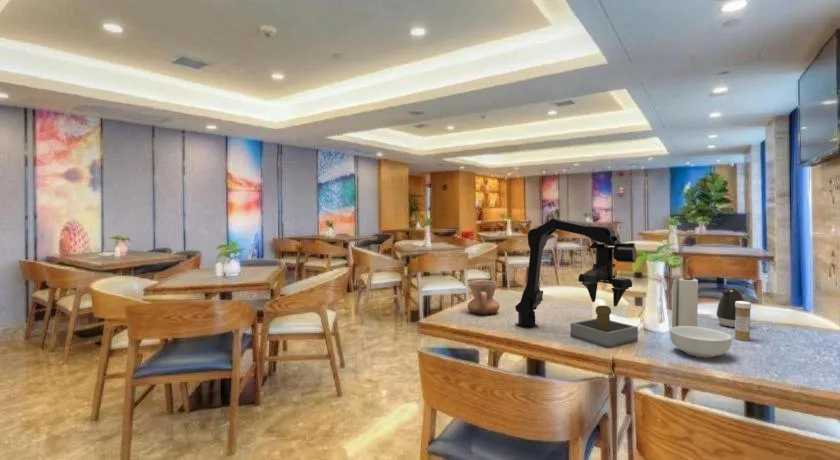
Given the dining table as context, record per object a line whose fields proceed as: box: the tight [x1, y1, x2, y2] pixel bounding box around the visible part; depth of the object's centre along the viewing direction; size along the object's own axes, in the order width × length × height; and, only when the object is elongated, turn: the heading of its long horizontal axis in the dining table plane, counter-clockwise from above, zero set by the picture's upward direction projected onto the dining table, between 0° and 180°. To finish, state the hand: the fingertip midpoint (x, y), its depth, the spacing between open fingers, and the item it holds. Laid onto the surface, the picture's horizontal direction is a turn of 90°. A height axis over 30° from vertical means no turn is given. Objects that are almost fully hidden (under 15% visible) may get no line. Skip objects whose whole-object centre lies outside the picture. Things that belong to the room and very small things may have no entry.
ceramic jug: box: [467, 279, 500, 315], centre depth 203 cm, size 18×14×14 cm
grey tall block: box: [671, 277, 699, 328], centre depth 161 cm, size 7×6×21 cm
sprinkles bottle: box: [734, 301, 752, 342], centre depth 158 cm, size 5×5×13 cm
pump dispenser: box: [716, 287, 745, 328], centre depth 176 cm, size 10×10×15 cm
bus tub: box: [570, 317, 639, 349], centre depth 161 cm, size 16×16×5 cm
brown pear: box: [595, 304, 612, 332], centre depth 161 cm, size 6×6×11 cm
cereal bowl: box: [669, 326, 732, 359], centre depth 143 cm, size 17×17×7 cm
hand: (604, 304), depth 160 cm, fingers open, 9 cm apart
